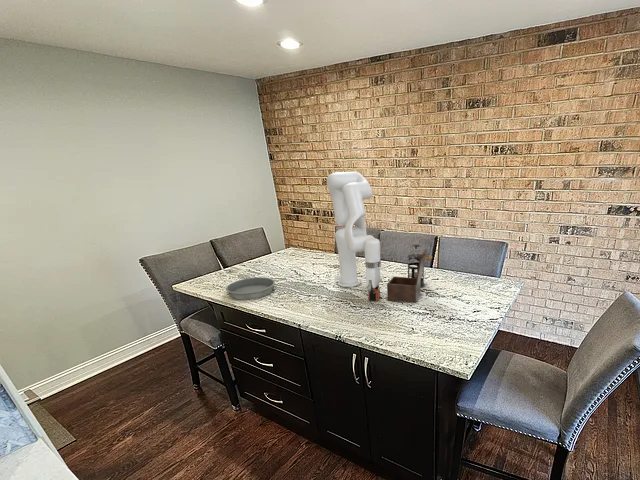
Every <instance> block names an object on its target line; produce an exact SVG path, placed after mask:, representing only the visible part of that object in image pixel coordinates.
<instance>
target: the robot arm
mask: <svg viewBox="0 0 640 480" xmlns="http://www.w3.org/2000/svg"><path fill="white" fill-rule="evenodd" d="M326 187H327V191H328V193H329V195H330V198H331V202H332V207H333V214H334V220H335V223H336V224H337V225H338V226H340V227H341V226H342V227H343V226H344V227H343V228H340V229H337V230H336V231H335V233H334V240H335V243H336V247H337V254H338V266H339V275H336V274H335V275H334V280H335V281H338V282H337V284H338V286H339V287H342V288H352V287H356V286H357V287H358V286H359V285H360V284H361V279H360V278H358V265H357V253H362V252H364V264H365V266H364V267H365V288H366V289H367V291H368V298H369V297H370V300H369V301H373V302H377V301H376V293H375V289H380V283H381V279H382V278H381V267H382V261H381V242H380V239H378V238H376V237H374V236H373V235H371V234H367V225H366V218H365V216H366V214H367V211H366V207H365V204H364V200H365V201H366V200H370V199H371V198H372V195H373V189H372V186H371V185H370V183H369V182H368V180H367V179H366V178H365V177H364V176H363V174H361V173H360V172H358V171H336V172H332V173H330V174H328V176H327V177H326ZM372 289H373V290H372Z"/></svg>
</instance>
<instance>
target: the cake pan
mask: <svg viewBox="0 0 640 480" xmlns="http://www.w3.org/2000/svg"><path fill="white" fill-rule="evenodd" d="M275 284H276V281H275V280H274V279H273V278H270V277H261V276H260V277H249V278H242V279H238V280H236V281H234V282H231V283H229V284H227V286H226V287H225V290H226V292H228V293H229V295H230V297H231V298H232V299H235V300H243V301H244V300H255V299H259V298H262V297H265V296H267V295H269V294H271V293H272V292H273V290H274V286H275Z"/></svg>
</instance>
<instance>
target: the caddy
mask: <svg viewBox="0 0 640 480" xmlns="http://www.w3.org/2000/svg"><path fill="white" fill-rule="evenodd" d="M415 283H416V278H411V277H409V278H408V276H407V277H406V276H393V277H391V279H390V280H389V281H388V282H387V283H386V291H387V292H386V293H387V294H386V295H387V301H393V302H401V303H402V302H403V303H413V304H414V303H415V304H416V303H417V301H418V300H419V298H420V296H421V291H422V290H421V289H422V287H421V279H420V281H419V282H418V284H417V285H415Z"/></svg>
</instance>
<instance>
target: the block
mask: <svg viewBox="0 0 640 480" xmlns="http://www.w3.org/2000/svg"><path fill="white" fill-rule="evenodd" d="M372 290H373V289H372ZM375 293H376V301H375V302H378V301H379V299H380V298H381V289H380V288H379V289H375ZM368 301H371V300H370V297H369V296H368Z"/></svg>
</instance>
